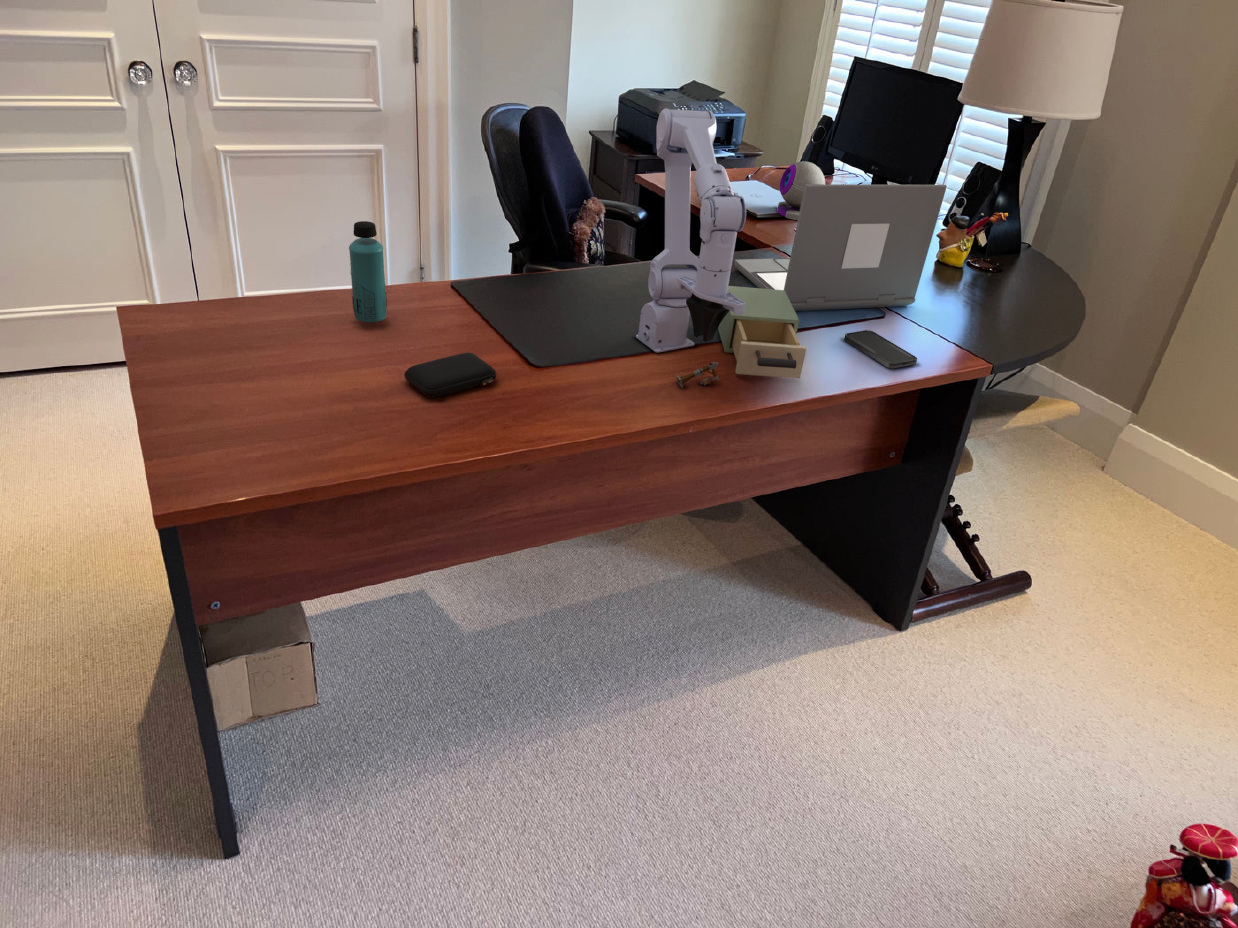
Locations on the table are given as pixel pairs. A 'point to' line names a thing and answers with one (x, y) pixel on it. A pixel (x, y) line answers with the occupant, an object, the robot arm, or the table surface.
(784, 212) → the webcam
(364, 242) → the beverage bottle
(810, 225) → the laptop
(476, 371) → the carrying case
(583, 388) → the table surface
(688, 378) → the wooden post with brackets
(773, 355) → the drawer
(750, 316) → the cabinet
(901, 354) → the phone
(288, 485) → the table surface
